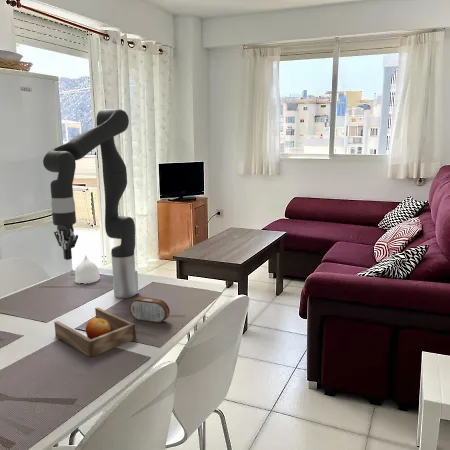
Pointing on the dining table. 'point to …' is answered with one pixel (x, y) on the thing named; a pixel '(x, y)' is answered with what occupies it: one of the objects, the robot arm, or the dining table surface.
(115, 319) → the wooden u-shaped frame
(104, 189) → the robot arm
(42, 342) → the dining table surface
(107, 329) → the fruit
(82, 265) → the teardrop
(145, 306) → the tin
